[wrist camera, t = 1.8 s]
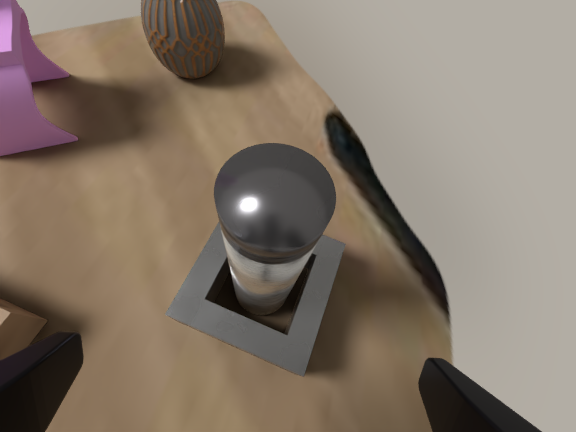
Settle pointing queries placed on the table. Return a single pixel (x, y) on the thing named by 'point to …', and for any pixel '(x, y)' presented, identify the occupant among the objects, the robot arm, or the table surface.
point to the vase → (184, 34)
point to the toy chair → (23, 86)
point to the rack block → (17, 328)
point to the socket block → (243, 331)
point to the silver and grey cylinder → (271, 219)
